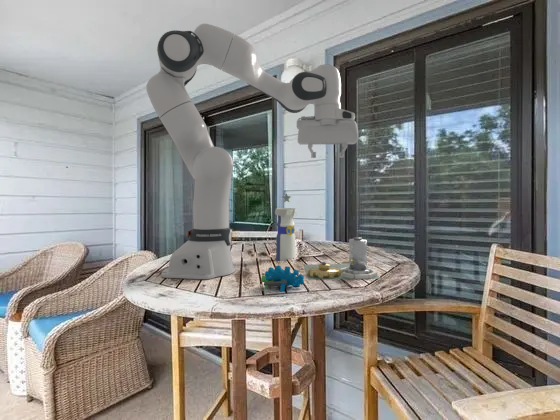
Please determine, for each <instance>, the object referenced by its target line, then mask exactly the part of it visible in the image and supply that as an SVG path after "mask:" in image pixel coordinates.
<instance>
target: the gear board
mask: <svg viewBox="0 0 560 420" xmlns="http://www.w3.org/2000/svg"><path fill="white" fill-rule="evenodd" d="M319 264H320V263H318V264H303V266H304V270H305V273H306V277H307V279H308V280H356V279H355V278H353V279H352V278H347V277H343V276H342V273H341V275H340V277H334V278H323V279H322V278H317V277H310V275H308V274H307V269H309V268H310V267H315V266H319ZM329 264H330V263H329ZM330 267H337V268H338V269H341V268H345V267H349V263H343V264H342V263H339V264H338V263H337V264H336V263H334V264H333V263H331V264H330ZM367 268H369V267H368V266H367ZM377 279H379V280H381V279H382V278H381V277H380V276H379V275H378V274H377V276H376V277H373V278H369V279H368V280H377Z"/></svg>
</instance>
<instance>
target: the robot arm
mask: <svg viewBox="0 0 560 420" xmlns="http://www.w3.org/2000/svg"><path fill="white" fill-rule="evenodd" d="M156 51H157V56H158V62H159V66H160V70H159V71H158V73H157V74H154V75H153V76H151V77H150V78H149V79H148V81H147V83H146V86H145V87H146V92H147V95H148V96H147V97H148V98H149V100H150V101H149V102H150V103H151V104H152V107H153V109H154V111H155V113H156V115H157V116H158V118H159V120H160V121H161V123H162V125H163V127H164V128H165V129H166V131H167V133H168V134H169V136H170V138H171V140H172V141H173V143H174V144H175V147H176V149H177V151H178V153H179V154H180V156H181V158H182V161H183V162H184V165H185V166H186V168H187V170H188V172H189V174H190V175H191V177H192V179H193V180H194V189H193V191H194V193H193V202H192V217H193V219H192V220H193V228H191V229H189V230H188V231H187V232H186V238H187V241H186V242H185V243H183V244H182V245H181V246H180V247H179V248H177V249H175V251H173V252H172V254H171V255H170V258H169V261H168V267H167V268H165V269H163V270H162V271H161V275H160V276H161V277H162V278H164V279H165V278H167V279H187V280H188V279H189V280H210V279H211V280H212V279H214V278H216V277H217V278H218V277H223V276H228V275H231V274H233V273H234V272H236V269H235V266H234V262H233V257H232V252H231V244H232V231H231V227H230V213H229V212H230V209H229V205H230V193H231V186H232V185H231V184H232V175H233V174H232V173H233V168H234V160H233V157H232V156H231V154H230V153H229V152H228V151H227V150H225V149H224V148H222V147H219V146H215V145H214V143H213V140H212V139H211V136H210V133H209V131H208V127H207V124H206V123H205V121H204V119H203V117H202V116H201V114H200V112H199V110H198V109H197V107H196V105H195V103H194V102H193V100H192V99H191V96H190V95H189V94H188V91H187V88H186V85H188V83H189V82H190V81H192V79H193V78H194V77H195V75H196V73H197V70H198V69H197V68H198V66H200V65H209V66H213V67H214V68H216V69H218V70H220V71H222V72H225V73H227V74H228V75H230V76H233V77H235V78H237V79H239V80H240V81H242V82H244V83H246V84H247V85H249V86H250V87H252V88H254V89H256V90H258V91H259V92H261V93H263V94H264V95H265V96H268V97H270V98H271V99H274V101H276V102H278V104H279V105H280V106H281V107H282V108H283V109H284V110H285V111H286V112H289V113H292V114H297V113H300V112H302V111H303V110H304V109H305V108H306V107H307V106H309V105H313V107H314V115H313V116H305V115H304V116H301V117H299V118H298V119H297V120H296V128H297V130H298V133H297V143H298V144H299V145H300V146H301V145H307V148H308V150H309V152H310V154H311V157H310V158H311V159H315V158H317V152H316V151H314V150H313V146H314V145H341V147H342V148H343V149H342V151H339V152H338V158H339V159H340V158H341V159H342V158H343V159H344V158H345V152H346V150H347V149H348V146H349V145H355V144H357V143H358V141H359V129H358V124H357V122H356V121H355V118H356V114H355V113H354V112H352V111H349V110H346V109H342V104H341V95H342V81H341V75H340V72H339V69H338V68H337V67H336V66H334V65H333V64H332V65H331V64H320V65H318V66H317V67H316V68H314V69H312V70H309V71H308V70H307V71H301V72H298V73H297V74H296V75H294V76H293V78H292V79H291V80H290V81H289V82H284V81H282V80H280V79H279V78H276V77H275V76H273V75H271V74H269V73H268V72H266V71H265V70H264V69H263V68H262V67H261V65H260V63H259V60H258V55H257V52H256V49H255V47H254V46H253V45H252V44H251V43H250V42H249V41H247V40H246V39H245V38H243V37H241V36H238V35H237V34H234V33H233V32H231V31H229V30H227V29H224V28H222V27H218V26H215V25H212V24H209V23H201V24H199V25H198V26H196V28H195V29H194V30H193V31H192V30H177V29H176V30H170V31H167V32H164V33H163V34H162V36H161V37H160V38H159V41H158V43H157V49H156Z"/></svg>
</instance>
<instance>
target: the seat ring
mask: <svg viewBox="0 0 560 420" xmlns="http://www.w3.org/2000/svg"><path fill="white" fill-rule="evenodd" d="M346 268H347V267H345V268H341V273H342V276H343V277H347V278H352V279H351V280H370V279H369V278H373V277H376V276H377V275H378V271H377V270H375V269H374V268H370V267H368V269H371V273H369V274H350V273H345V269H346ZM353 278H355V279H353Z"/></svg>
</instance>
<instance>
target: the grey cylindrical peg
mask: <svg viewBox="0 0 560 420" xmlns="http://www.w3.org/2000/svg"><path fill="white" fill-rule="evenodd" d="M367 249H368V240H367V239H365V238H364V239H363V237H357V236H355V237H353V238H350V239H348V264H349V267H347V268H346V269H345V273H350V274H369V273H371V269H372V268H371V269H368V268H369V267H368V256H367V255H368V250H367ZM367 267H368V268H367Z"/></svg>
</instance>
